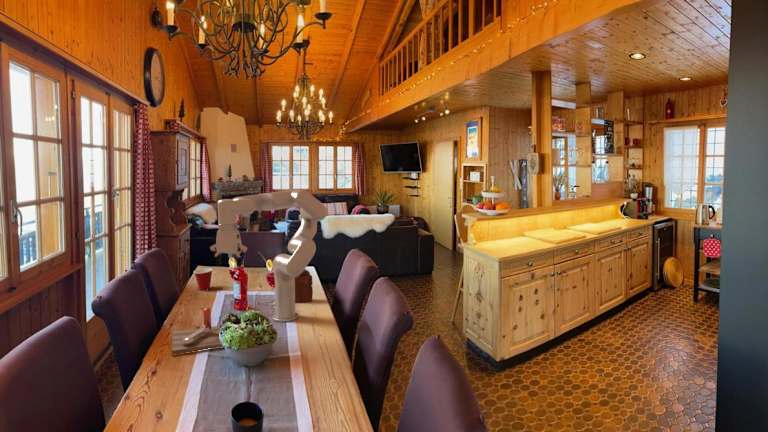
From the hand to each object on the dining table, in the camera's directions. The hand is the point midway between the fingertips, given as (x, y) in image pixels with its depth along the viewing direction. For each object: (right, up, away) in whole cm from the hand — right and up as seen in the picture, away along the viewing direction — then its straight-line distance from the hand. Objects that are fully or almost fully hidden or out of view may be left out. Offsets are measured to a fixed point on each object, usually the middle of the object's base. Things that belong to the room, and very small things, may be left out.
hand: (229, 265), depth 199 cm
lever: (-9, -29, -11) cm, 32 cm away
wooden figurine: (+23, -25, +49) cm, 60 cm away
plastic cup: (-40, -22, +71) cm, 84 cm away
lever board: (-10, -31, -10) cm, 34 cm away
